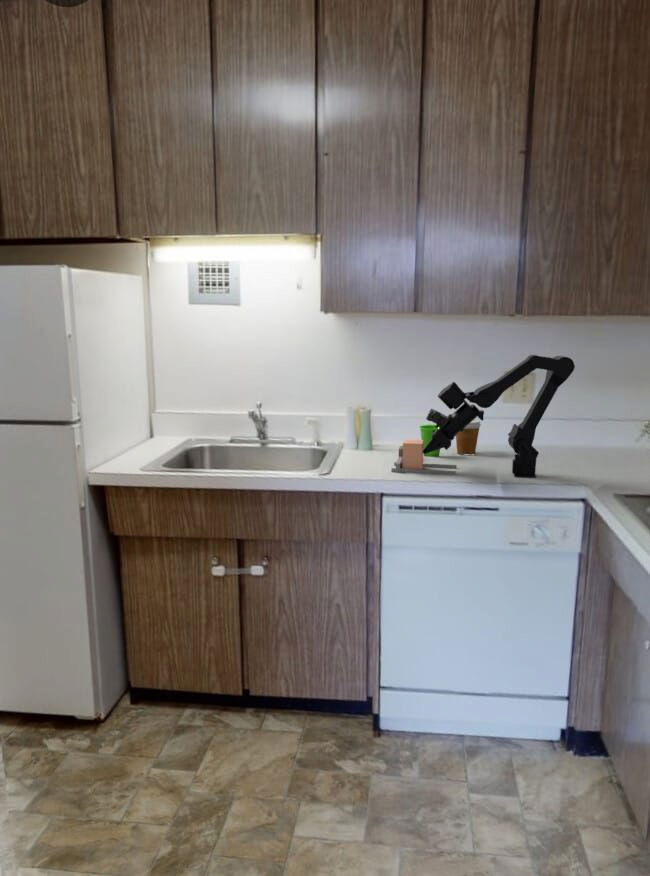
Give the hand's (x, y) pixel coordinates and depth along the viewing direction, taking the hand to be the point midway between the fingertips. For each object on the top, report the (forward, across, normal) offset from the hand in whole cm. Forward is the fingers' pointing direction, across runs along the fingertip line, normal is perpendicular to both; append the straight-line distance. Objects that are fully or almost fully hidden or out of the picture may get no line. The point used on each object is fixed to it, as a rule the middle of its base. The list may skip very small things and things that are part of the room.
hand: (423, 452), depth 212 cm
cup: (+4, -23, +6) cm, 24 cm away
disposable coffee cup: (-5, -32, +14) cm, 35 cm away
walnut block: (+9, -15, 0) cm, 18 cm away
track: (+4, 0, +5) cm, 7 cm away
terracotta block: (+6, 0, +2) cm, 7 cm away
